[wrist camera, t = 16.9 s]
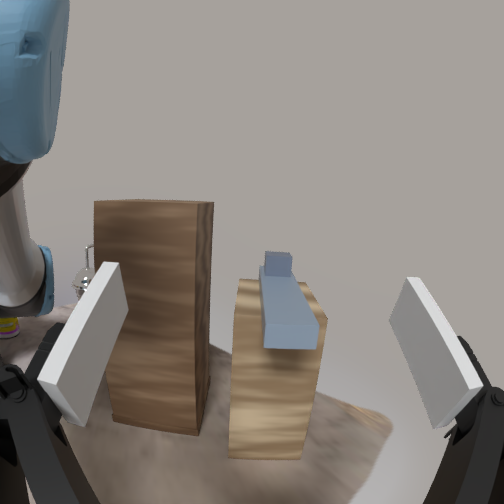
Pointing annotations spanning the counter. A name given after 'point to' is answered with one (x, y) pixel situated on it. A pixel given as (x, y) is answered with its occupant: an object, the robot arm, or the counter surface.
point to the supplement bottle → (9, 327)
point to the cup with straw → (83, 277)
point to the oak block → (270, 384)
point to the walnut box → (159, 309)
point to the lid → (284, 306)
